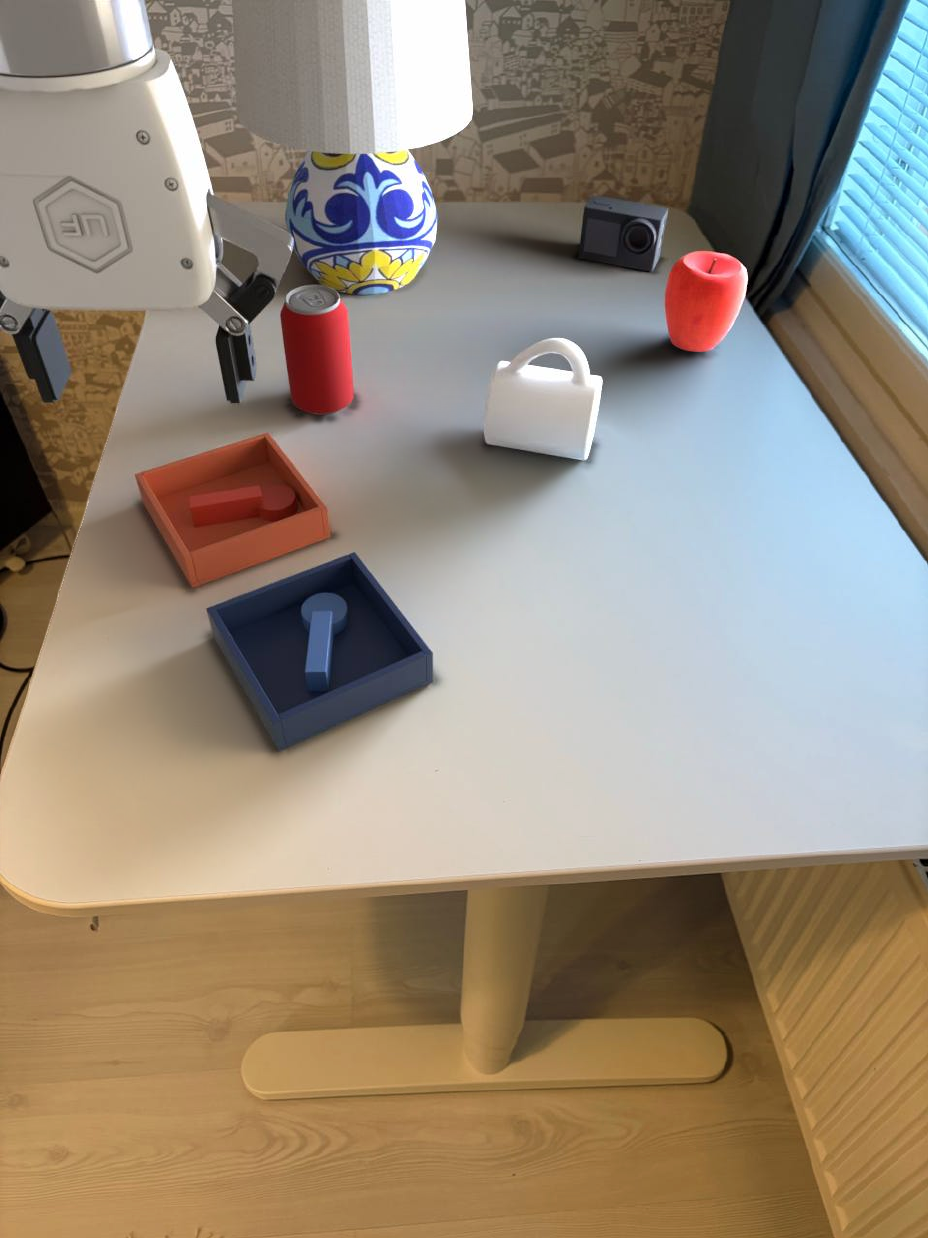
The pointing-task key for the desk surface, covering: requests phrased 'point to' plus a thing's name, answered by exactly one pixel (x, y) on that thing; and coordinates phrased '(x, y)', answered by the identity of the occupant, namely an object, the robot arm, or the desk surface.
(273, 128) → the table lamp
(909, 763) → the desk surface
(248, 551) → the red bin
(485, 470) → the desk surface
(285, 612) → the blue bin
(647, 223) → the digital camera
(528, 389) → the white handbag
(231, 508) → the red spoon
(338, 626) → the blue spoon
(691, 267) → the apple
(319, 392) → the beverage can
